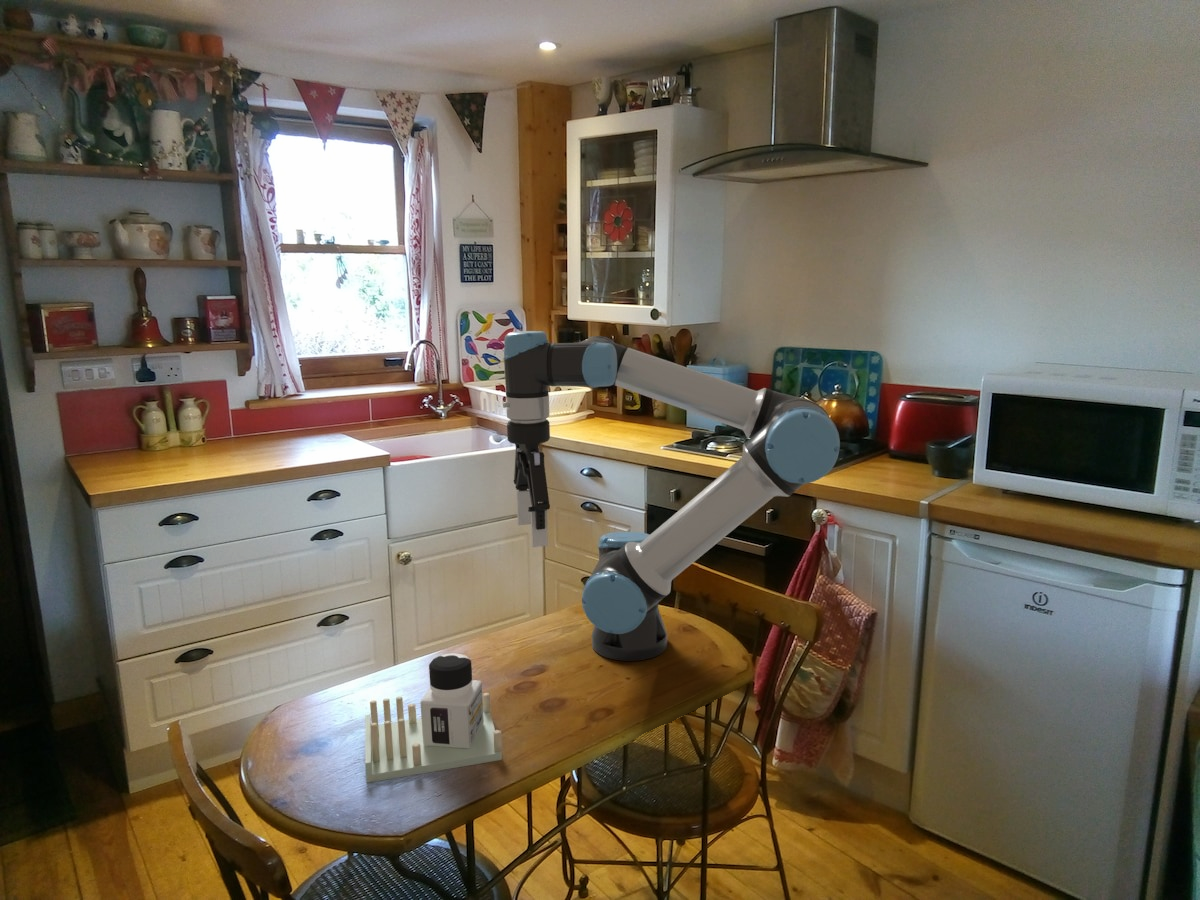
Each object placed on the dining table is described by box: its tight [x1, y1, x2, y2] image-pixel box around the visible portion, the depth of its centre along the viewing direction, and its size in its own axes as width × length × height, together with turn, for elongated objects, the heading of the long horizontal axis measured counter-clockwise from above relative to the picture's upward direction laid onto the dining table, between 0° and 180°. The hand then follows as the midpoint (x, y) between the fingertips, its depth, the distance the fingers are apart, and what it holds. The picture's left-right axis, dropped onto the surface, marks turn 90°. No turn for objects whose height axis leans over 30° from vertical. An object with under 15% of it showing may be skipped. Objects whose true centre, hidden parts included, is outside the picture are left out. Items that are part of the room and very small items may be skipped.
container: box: [419, 652, 484, 749], centre depth 129 cm, size 8×8×13 cm
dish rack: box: [364, 692, 503, 784], centre depth 129 cm, size 20×14×7 cm
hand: (532, 534), depth 149 cm, fingers open, 13 cm apart
